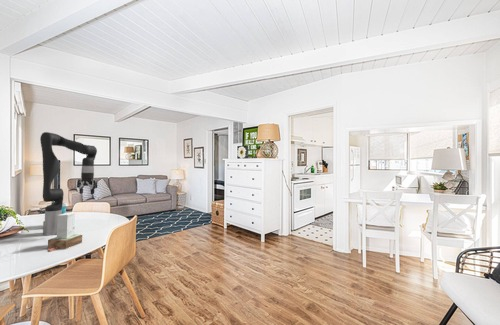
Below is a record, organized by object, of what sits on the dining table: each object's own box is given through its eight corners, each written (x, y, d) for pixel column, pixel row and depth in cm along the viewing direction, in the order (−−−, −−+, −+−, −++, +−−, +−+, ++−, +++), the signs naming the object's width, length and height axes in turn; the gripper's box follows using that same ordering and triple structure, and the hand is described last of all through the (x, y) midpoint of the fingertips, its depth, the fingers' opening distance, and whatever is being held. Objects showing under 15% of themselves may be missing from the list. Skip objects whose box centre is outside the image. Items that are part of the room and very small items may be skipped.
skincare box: (66, 238, 139) (67, 215, 139) (55, 239, 138) (56, 215, 138) (74, 234, 147) (75, 212, 147) (64, 234, 146) (65, 212, 146)
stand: (47, 247, 137) (48, 239, 137) (65, 241, 149) (65, 233, 149) (65, 249, 136) (66, 240, 136) (82, 242, 148) (82, 234, 148)
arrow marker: (51, 251, 131) (51, 250, 131) (46, 251, 131) (46, 249, 131) (59, 248, 137) (59, 246, 137) (55, 248, 137) (55, 246, 137)
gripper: (74, 171, 161) (73, 194, 161) (92, 172, 160) (91, 195, 160) (82, 171, 168) (82, 192, 168) (100, 172, 167) (99, 193, 167)
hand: (86, 193), depth 164 cm, fingers open, 8 cm apart
